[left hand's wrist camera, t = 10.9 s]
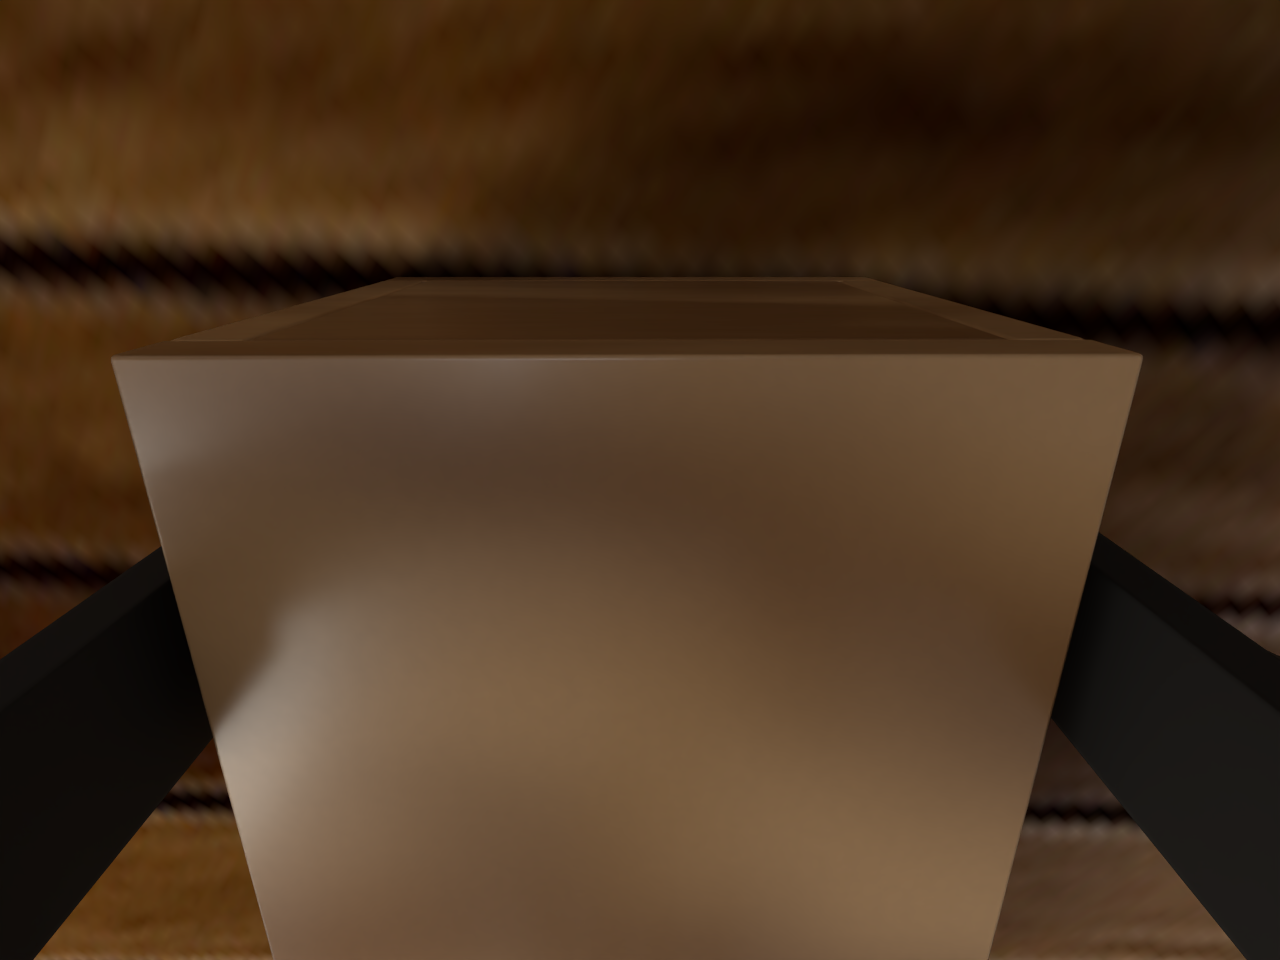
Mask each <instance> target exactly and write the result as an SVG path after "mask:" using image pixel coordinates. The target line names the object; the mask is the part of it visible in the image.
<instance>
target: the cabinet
mask: <svg viewBox="0 0 1280 960" xmlns="http://www.w3.org/2000/svg"><path fill="white" fill-rule="evenodd" d="M1142 361H1143V356H1142V355H1141V354H1139V353H1136V352H1133V351H1129V350H1126V349H1122V348H1118V347H1115V346H1111V345H1108V344H1104V343H1100V342H1097V341H1093V340H1084V339H1082V338H1079V337H1076V336H1072V335H1069V334H1065V333H1062V332H1058V331H1055V330H1051V329H1048V328H1044V327H1040V326H1037V325H1033V324H1030V323H1026V322H1023V321H1019V320H1016V319H1012V318H1008V317H1005V316H1001V315H998V314H994V313H991V312H987V311H984V310H980V309H976V308H973V307H969V306H966V305H962V304H959V303H955V302H952V301H948V300H944V299H941V298H937V297H934V296H930V295H927V294H923V293H920V292H916V291H912V290H909V289H905V288H902V287H898V286H895V285H891V284H888V283H884V282H881V281H877V280H874V279H871V278H867V277H397V278H393V279H390V280H386V281H383V282H380V283H376V284H372V285H369V286H365V287H362V288H358V289H354V290H351V291H347V292H344V293H340V294H336V295H333V296H329V297H325V298H322V299H318V300H315V301H311V302H307V303H304V304H300V305H296V306H293V307H289V308H286V309H282V310H278V311H275V312H271V313H267V314H264V315H260V316H257V317H253V318H249V319H246V320H242V321H239V322H235V323H231V324H228V325H224V326H220V327H217V328H213V329H210V330H206V331H202V332H199V333H195V334H191V335H188V336H184V337H181V338H177V339H174V340H172V341H163V342H160V343H156V344H152V345H149V346H145V347H141V348H138V349H134V350H131V351H127V352H123V353H120V354H116V355H114V356H112V357H111V362H112V366H113V370H114V373H115V377H116V381H117V384H118V388H119V392H120V395H121V399H122V403H123V406H124V410H125V414H126V418H127V421H128V425H129V429H130V432H131V436H132V440H133V443H134V447H135V451H136V454H137V458H138V462H139V465H140V469H141V473H142V477H143V480H144V484H145V488H146V491H147V495H148V499H149V502H150V506H151V510H152V513H153V517H154V521H155V524H156V528H157V532H158V535H159V539H160V543H161V547H162V550H163V554H164V558H165V561H166V565H167V569H168V572H169V576H170V580H171V583H172V587H173V591H174V594H175V598H176V602H177V606H178V609H179V613H180V617H181V620H182V624H183V628H184V631H185V635H186V639H187V642H188V646H189V650H190V653H191V657H192V661H193V665H194V668H195V672H196V676H197V679H198V683H199V687H200V690H201V694H202V698H203V701H204V705H205V709H206V712H207V716H208V720H209V724H210V727H211V731H212V735H213V738H214V742H215V746H216V749H217V753H218V757H219V760H220V764H221V768H222V771H223V775H224V779H225V783H226V786H227V790H228V794H229V797H230V801H231V805H232V808H233V812H234V816H235V819H236V823H237V827H238V830H239V834H240V838H241V842H242V845H243V849H244V853H245V856H246V860H247V864H248V867H249V871H250V875H251V878H252V882H253V886H254V889H255V893H256V897H257V900H258V904H259V908H260V912H261V915H262V919H263V923H264V926H265V930H266V934H267V937H268V941H269V945H270V948H271V952H272V956H273V959H274V960H988V959H989V955H990V951H991V947H992V943H993V939H994V935H995V931H996V928H997V924H998V920H999V916H1000V912H1001V908H1002V904H1003V900H1004V896H1005V893H1006V889H1007V885H1008V881H1009V877H1010V873H1011V869H1012V865H1013V862H1014V858H1015V854H1016V850H1017V846H1018V842H1019V838H1020V834H1021V831H1022V827H1023V823H1024V819H1025V815H1026V811H1027V807H1028V803H1029V800H1030V796H1031V792H1032V788H1033V784H1034V780H1035V776H1036V772H1037V768H1038V765H1039V761H1040V757H1041V753H1042V749H1043V745H1044V741H1045V737H1046V734H1047V730H1048V726H1049V722H1050V718H1051V714H1052V710H1053V706H1054V703H1055V699H1056V695H1057V691H1058V687H1059V683H1060V679H1061V675H1062V672H1063V668H1064V664H1065V660H1066V656H1067V652H1068V648H1069V644H1070V640H1071V637H1072V633H1073V629H1074V625H1075V621H1076V617H1077V613H1078V609H1079V606H1080V602H1081V598H1082V594H1083V590H1084V586H1085V582H1086V578H1087V575H1088V571H1089V567H1090V563H1091V559H1092V555H1093V551H1094V547H1095V543H1096V540H1097V536H1098V532H1099V528H1100V524H1101V520H1102V516H1103V512H1104V509H1105V505H1106V501H1107V497H1108V493H1109V489H1110V485H1111V481H1112V478H1113V474H1114V470H1115V466H1116V462H1117V458H1118V454H1119V450H1120V447H1121V443H1122V439H1123V435H1124V431H1125V427H1126V423H1127V419H1128V415H1129V412H1130V408H1131V404H1132V400H1133V396H1134V392H1135V388H1136V384H1137V381H1138V377H1139V373H1140V369H1141V365H1142Z"/></svg>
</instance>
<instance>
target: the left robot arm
mask: <svg viewBox="0 0 1280 960" xmlns="http://www.w3.org/2000/svg"><path fill="white" fill-rule="evenodd" d="M1051 718H1052V719H1053V721H1054V722H1055V723H1056V724H1057V726H1058V727H1059V728H1060V729H1061V731H1062V732H1063V733H1064V734H1065V735H1066V737H1067V738H1068V739H1069V740H1070V742H1071V743H1072V744H1073V745H1074V747H1075V748H1076V749H1077V750H1078V752H1079V753H1080V754H1081V755H1082V756H1083V758H1084V759H1085V760H1086V761H1087V763H1088V764H1089V765H1090V766H1091V768H1092V769H1093V770H1094V771H1095V773H1096V774H1097V775H1098V776H1099V778H1100V779H1101V780H1102V781H1103V782H1104V784H1105V785H1106V786H1107V787H1108V789H1109V790H1110V791H1111V792H1112V794H1113V795H1114V796H1115V797H1116V799H1117V800H1118V801H1119V802H1120V803H1121V805H1122V806H1123V807H1124V808H1125V810H1126V811H1127V812H1128V813H1129V815H1130V816H1131V817H1132V818H1133V820H1134V821H1135V822H1136V823H1137V824H1138V826H1139V827H1140V828H1141V829H1142V831H1143V832H1144V833H1145V834H1146V836H1147V837H1148V838H1149V839H1150V841H1151V842H1152V843H1153V844H1154V846H1155V847H1156V848H1157V849H1158V850H1159V852H1160V853H1161V854H1162V855H1163V857H1164V858H1165V859H1166V860H1167V862H1168V863H1169V864H1170V865H1171V867H1172V868H1173V869H1174V870H1175V871H1176V873H1177V874H1178V875H1179V876H1180V878H1181V879H1182V880H1183V881H1184V883H1185V884H1186V885H1187V886H1188V888H1189V889H1190V890H1191V891H1192V892H1193V894H1194V895H1195V896H1196V897H1197V899H1198V900H1199V901H1200V902H1201V904H1202V905H1203V906H1204V907H1205V909H1206V910H1207V911H1208V912H1209V914H1210V915H1211V916H1212V917H1213V918H1214V920H1215V921H1216V922H1217V923H1218V925H1219V926H1220V927H1221V928H1222V930H1223V931H1224V932H1225V933H1226V935H1227V936H1228V937H1229V938H1230V939H1231V941H1232V942H1233V943H1234V944H1235V946H1236V947H1237V948H1238V949H1239V951H1240V952H1241V953H1242V954H1243V956H1244V957H1245V958H1246V959H1247V960H1280V656H1278V655H1275V654H1273V653H1271V652H1269V651H1267V650H1265V649H1264V648H1263V647H1261V646H1260V645H1258V644H1257V643H1255V642H1254V641H1253V640H1251V639H1250V638H1248V637H1247V636H1245V635H1244V634H1243V633H1241V632H1240V631H1238V630H1237V629H1236V628H1234V627H1233V626H1231V625H1230V624H1228V623H1227V622H1226V621H1224V620H1223V619H1221V618H1220V617H1218V616H1217V615H1216V614H1214V613H1213V612H1211V611H1210V610H1209V609H1207V608H1206V607H1204V606H1203V605H1201V604H1200V603H1199V602H1197V601H1196V600H1194V599H1193V598H1191V597H1190V596H1189V595H1187V594H1186V593H1184V592H1183V591H1182V590H1180V589H1179V588H1177V587H1176V586H1174V585H1173V584H1172V583H1170V582H1169V581H1167V580H1166V579H1164V578H1163V577H1162V576H1160V575H1159V574H1157V573H1156V572H1155V571H1153V570H1152V569H1150V568H1149V567H1147V566H1146V565H1145V564H1143V563H1142V562H1140V561H1139V560H1137V559H1136V558H1135V557H1133V556H1132V555H1130V554H1129V553H1128V552H1126V551H1125V550H1123V549H1122V548H1120V547H1119V546H1118V545H1116V544H1115V543H1113V542H1112V541H1110V540H1109V539H1108V538H1106V537H1105V536H1103V535H1102V534H1101V533H1099V532H1098V536H1097V540H1096V543H1095V547H1094V551H1093V555H1092V559H1091V563H1090V567H1089V571H1088V575H1087V578H1086V582H1085V586H1084V590H1083V594H1082V598H1081V602H1080V606H1079V609H1078V613H1077V617H1076V621H1075V625H1074V629H1073V633H1072V637H1071V640H1070V644H1069V648H1068V652H1067V656H1066V660H1065V664H1064V668H1063V672H1062V675H1061V679H1060V683H1059V687H1058V691H1057V695H1056V699H1055V703H1054V706H1053V710H1052V714H1051ZM212 738H213V735H212V731H211V727H210V724H209V720H208V716H207V712H206V709H205V705H204V701H203V698H202V694H201V690H200V687H199V683H198V679H197V676H196V672H195V668H194V665H193V661H192V657H191V653H190V650H189V646H188V642H187V639H186V635H185V631H184V628H183V624H182V620H181V617H180V613H179V609H178V606H177V602H176V598H175V594H174V591H173V587H172V583H171V580H170V576H169V572H168V569H167V565H166V561H165V558H164V554H163V550H162V547H160V548H158V549H157V550H155V551H154V552H152V553H151V554H150V555H148V556H147V557H145V558H144V559H143V560H141V561H140V562H138V563H137V564H135V565H134V566H133V567H131V568H130V569H128V570H127V571H125V572H124V573H123V574H121V575H120V576H118V577H117V578H116V579H114V580H113V581H111V582H110V583H108V584H107V585H106V586H104V587H103V588H101V589H100V590H98V591H97V592H96V593H94V594H93V595H91V596H90V597H89V598H87V599H86V600H84V601H83V602H81V603H80V604H79V605H77V606H76V607H74V608H73V609H71V610H70V611H69V612H67V613H66V614H64V615H63V616H62V617H60V618H59V619H57V620H56V621H54V622H53V623H52V624H50V625H49V626H47V627H46V628H44V629H43V630H42V631H40V632H39V633H37V634H36V635H35V636H33V637H32V638H30V639H29V640H27V641H26V642H25V643H23V644H22V645H20V646H19V647H17V648H16V649H15V650H13V651H12V652H10V653H9V654H8V655H6V656H5V657H3V658H2V659H0V960H33V959H34V958H35V957H36V956H37V954H38V953H39V952H40V951H41V949H42V948H43V947H44V946H45V944H46V943H47V942H48V941H49V939H50V938H51V937H52V936H53V935H54V933H55V932H56V931H57V930H58V928H59V927H60V926H61V925H62V923H63V922H64V921H65V920H66V918H67V917H68V916H69V915H70V914H71V912H72V911H73V910H74V909H75V907H76V906H77V905H78V904H79V902H80V901H81V900H82V899H83V897H84V896H85V895H86V894H87V892H88V891H89V890H90V889H91V888H92V886H93V885H94V884H95V883H96V881H97V880H98V879H99V878H100V876H101V875H102V874H103V873H104V871H105V870H106V869H107V868H108V867H109V865H110V864H111V863H112V862H113V860H114V859H115V858H116V857H117V855H118V854H119V853H120V852H121V850H122V849H123V848H124V847H125V846H126V844H127V843H128V842H129V841H130V839H131V838H132V837H133V836H134V834H135V833H136V832H137V831H138V829H139V828H140V827H141V826H142V824H143V823H144V822H145V821H146V820H147V818H148V817H149V816H150V815H151V813H152V812H153V811H154V810H155V808H156V807H157V806H158V805H159V803H160V802H161V801H162V800H163V799H164V797H165V796H166V795H167V794H168V792H169V791H170V790H171V789H172V787H173V786H174V785H175V784H176V782H177V781H178V780H179V779H180V778H181V776H182V775H183V774H184V773H185V771H186V770H187V769H188V768H189V766H190V765H191V764H192V763H193V761H194V760H195V759H196V758H197V756H198V755H199V754H200V753H201V752H202V750H203V749H204V748H205V747H206V745H207V744H208V743H209V742H210V740H211V739H212Z"/></svg>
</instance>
